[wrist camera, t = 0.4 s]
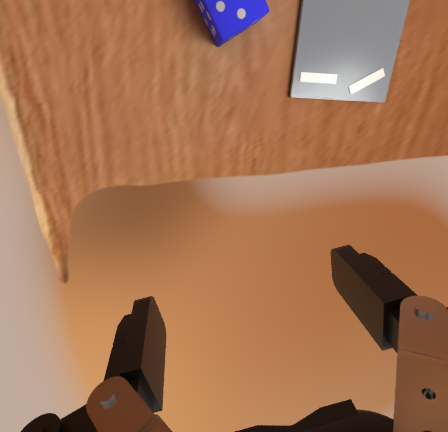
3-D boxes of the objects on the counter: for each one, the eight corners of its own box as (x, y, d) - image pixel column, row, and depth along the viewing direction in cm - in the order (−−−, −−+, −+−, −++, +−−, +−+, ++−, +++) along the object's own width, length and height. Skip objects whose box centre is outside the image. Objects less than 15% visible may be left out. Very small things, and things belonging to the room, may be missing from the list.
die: (235, -30, 30) (245, -52, 25) (257, 22, 32) (270, 11, 27) (192, -2, 30) (194, -18, 25) (217, 47, 32) (223, 41, 28)
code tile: (305, -29, 30) (307, -32, 30) (410, -17, 32) (415, -19, 31) (289, 97, 35) (291, 97, 34) (381, 102, 37) (385, 102, 36)
